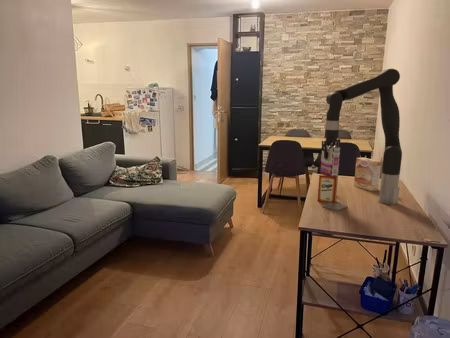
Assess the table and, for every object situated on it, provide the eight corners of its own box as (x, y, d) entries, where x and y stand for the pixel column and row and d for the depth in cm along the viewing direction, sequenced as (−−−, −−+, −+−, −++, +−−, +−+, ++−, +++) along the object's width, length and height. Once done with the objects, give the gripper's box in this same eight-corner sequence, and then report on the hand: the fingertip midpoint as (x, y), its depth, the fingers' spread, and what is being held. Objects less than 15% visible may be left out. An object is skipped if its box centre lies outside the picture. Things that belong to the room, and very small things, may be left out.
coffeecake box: (353, 185, 241) (355, 157, 237) (361, 184, 244) (363, 157, 240) (370, 191, 228) (373, 161, 224) (378, 190, 231) (381, 160, 227)
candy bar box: (338, 176, 198) (341, 147, 195) (331, 176, 197) (333, 147, 193) (326, 172, 209) (328, 144, 205) (319, 172, 207) (321, 145, 204)
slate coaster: (347, 207, 195) (347, 205, 195) (339, 211, 188) (339, 209, 188) (330, 203, 202) (330, 201, 201) (322, 207, 195) (322, 205, 194)
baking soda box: (317, 201, 205) (319, 174, 202) (319, 198, 211) (321, 172, 208) (334, 203, 201) (336, 176, 198) (336, 200, 207) (338, 174, 204)
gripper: (329, 129, 190) (327, 160, 194) (345, 128, 198) (343, 157, 202) (318, 128, 196) (316, 158, 199) (334, 127, 204) (332, 155, 208)
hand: (330, 157), depth 201 cm, fingers open, 6 cm apart
